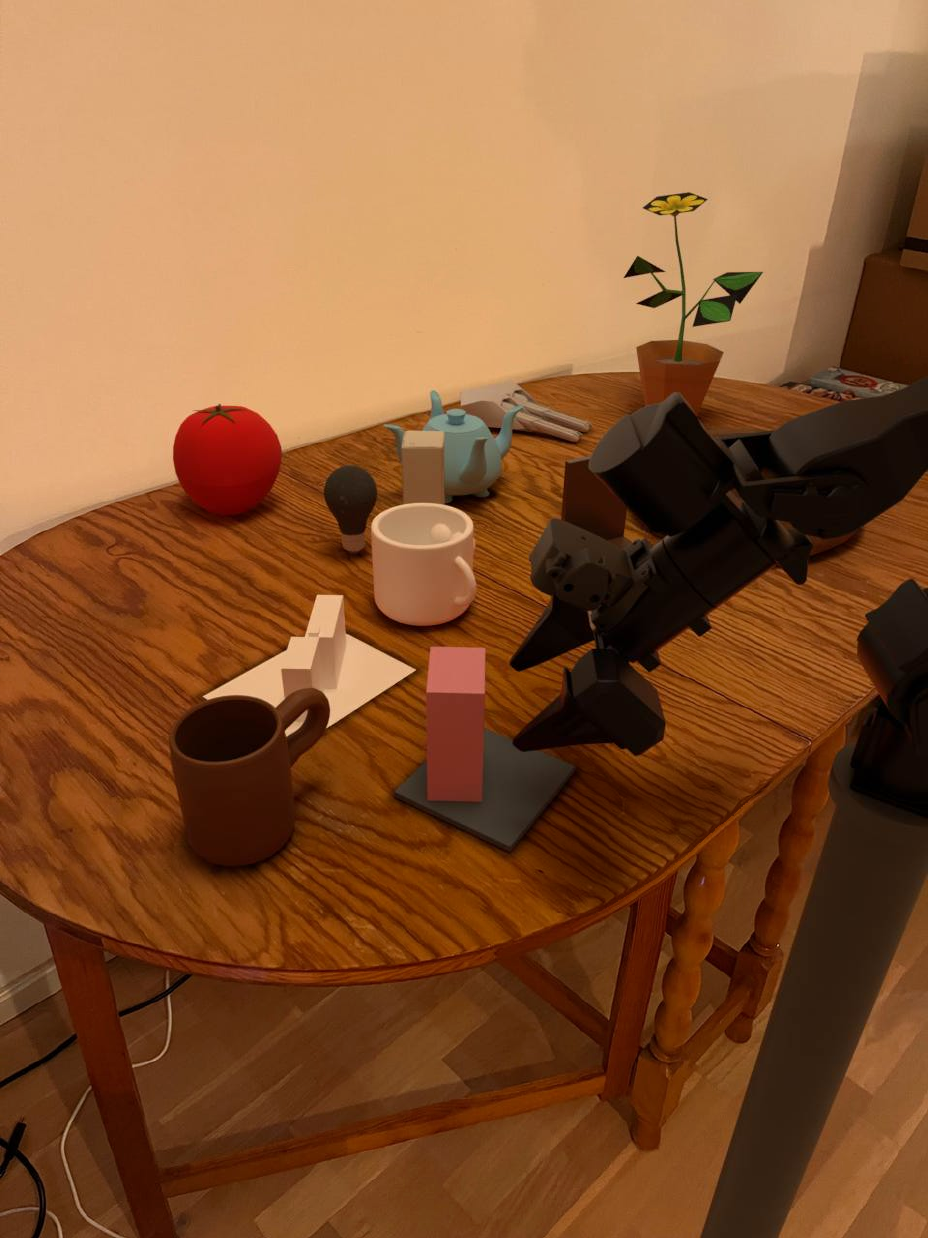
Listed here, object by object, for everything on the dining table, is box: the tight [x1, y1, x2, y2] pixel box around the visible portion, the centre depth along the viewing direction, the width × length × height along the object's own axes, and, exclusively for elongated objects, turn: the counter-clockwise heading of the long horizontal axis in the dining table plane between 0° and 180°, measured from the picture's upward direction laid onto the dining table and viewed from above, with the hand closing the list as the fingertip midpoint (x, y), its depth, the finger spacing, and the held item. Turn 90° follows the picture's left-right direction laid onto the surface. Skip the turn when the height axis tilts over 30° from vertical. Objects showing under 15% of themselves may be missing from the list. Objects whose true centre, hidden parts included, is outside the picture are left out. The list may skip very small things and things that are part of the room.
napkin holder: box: [202, 594, 416, 737], centre depth 78 cm, size 15×11×6 cm
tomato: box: [172, 403, 283, 516], centre depth 106 cm, size 12×12×13 cm
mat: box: [393, 727, 576, 853], centre depth 69 cm, size 10×10×1 cm
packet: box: [425, 646, 487, 802], centre depth 67 cm, size 4×6×10 cm
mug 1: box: [168, 687, 330, 868], centre depth 64 cm, size 12×8×9 cm, turn 135°
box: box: [401, 429, 446, 505], centre depth 98 cm, size 5×4×13 cm
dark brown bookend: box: [560, 455, 633, 549], centre depth 93 cm, size 9×8×12 cm
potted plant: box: [623, 191, 764, 417], centre depth 128 cm, size 18×19×30 cm
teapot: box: [382, 389, 524, 504], centre depth 112 cm, size 13×13×10 cm
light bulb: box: [323, 464, 378, 555], centre depth 98 cm, size 6×6×10 cm
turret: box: [459, 380, 594, 443], centre depth 132 cm, size 10×20×5 cm, turn 64°
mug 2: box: [370, 503, 477, 627], centre depth 88 cm, size 12×10×9 cm
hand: (514, 704), depth 65 cm, fingers open, 9 cm apart
